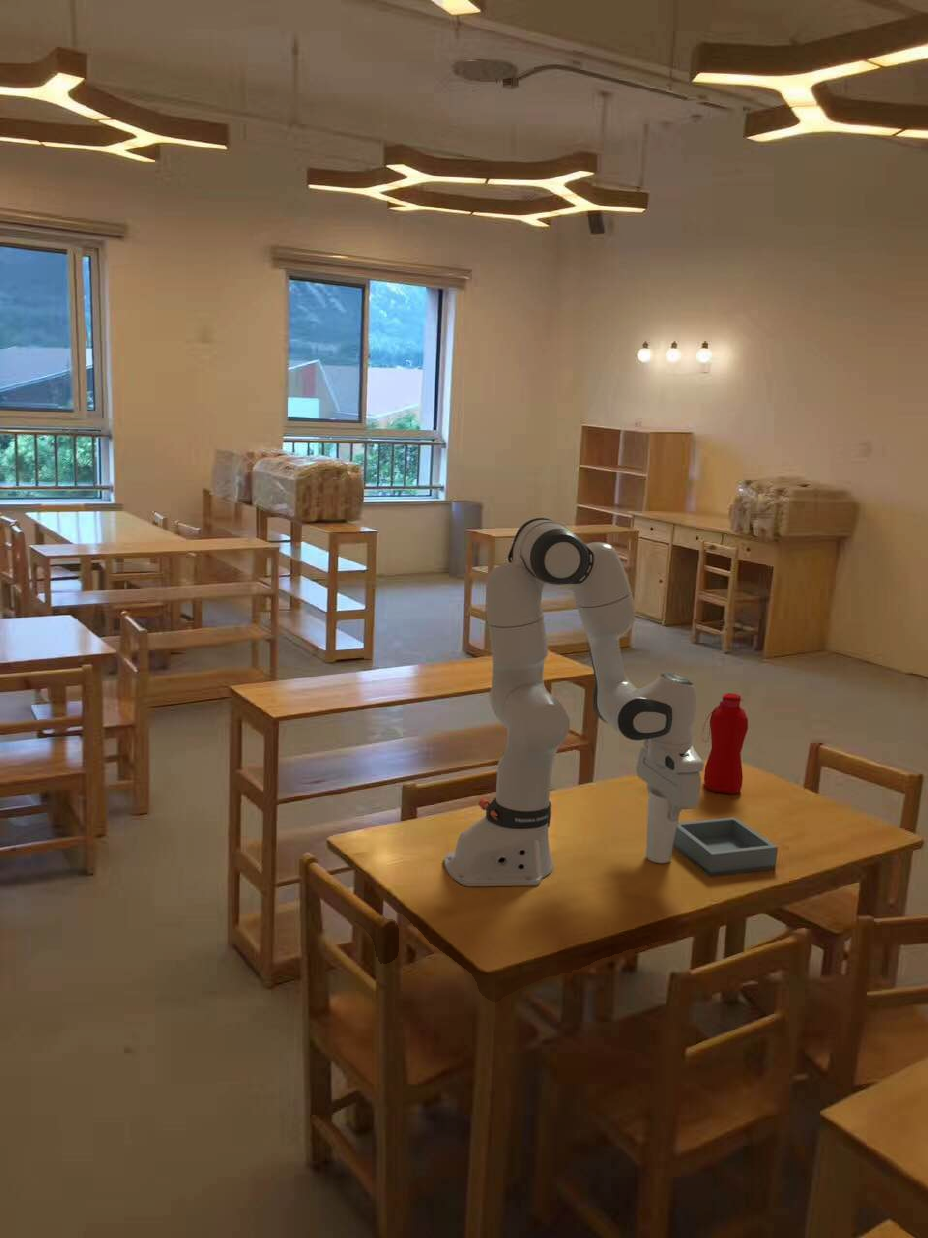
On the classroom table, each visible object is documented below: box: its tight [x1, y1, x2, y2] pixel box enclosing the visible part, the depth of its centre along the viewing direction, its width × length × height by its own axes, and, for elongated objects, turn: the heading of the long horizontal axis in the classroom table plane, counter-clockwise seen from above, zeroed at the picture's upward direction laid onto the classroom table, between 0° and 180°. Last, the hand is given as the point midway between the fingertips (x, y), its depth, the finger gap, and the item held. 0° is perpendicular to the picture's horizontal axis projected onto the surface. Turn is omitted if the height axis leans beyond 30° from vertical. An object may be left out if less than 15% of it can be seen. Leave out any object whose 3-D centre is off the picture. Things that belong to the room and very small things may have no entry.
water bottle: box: [701, 692, 749, 795], centre depth 256 cm, size 9×11×25 cm
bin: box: [673, 816, 779, 878], centre depth 217 cm, size 16×16×5 cm
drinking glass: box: [645, 788, 681, 864], centre depth 214 cm, size 7×7×15 cm
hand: (663, 812), depth 213 cm, fingers closed on drinking glass, 7 cm apart
